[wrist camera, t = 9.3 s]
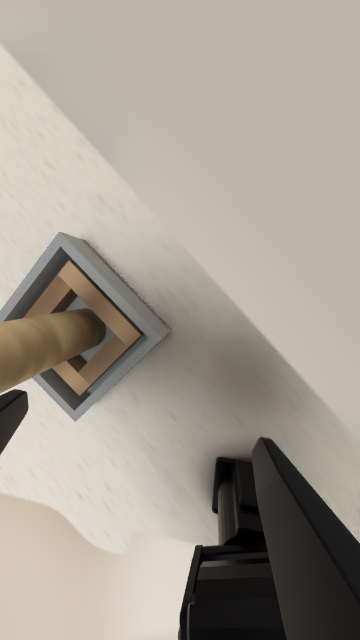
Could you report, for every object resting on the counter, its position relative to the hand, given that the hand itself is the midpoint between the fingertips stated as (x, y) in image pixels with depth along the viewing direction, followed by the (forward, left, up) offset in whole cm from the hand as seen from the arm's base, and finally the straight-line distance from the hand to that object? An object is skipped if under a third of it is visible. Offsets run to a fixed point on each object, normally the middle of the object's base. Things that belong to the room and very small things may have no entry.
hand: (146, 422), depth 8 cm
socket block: (0, +10, -13) cm, 16 cm away
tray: (0, +10, -13) cm, 16 cm away
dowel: (0, +10, -12) cm, 16 cm away
